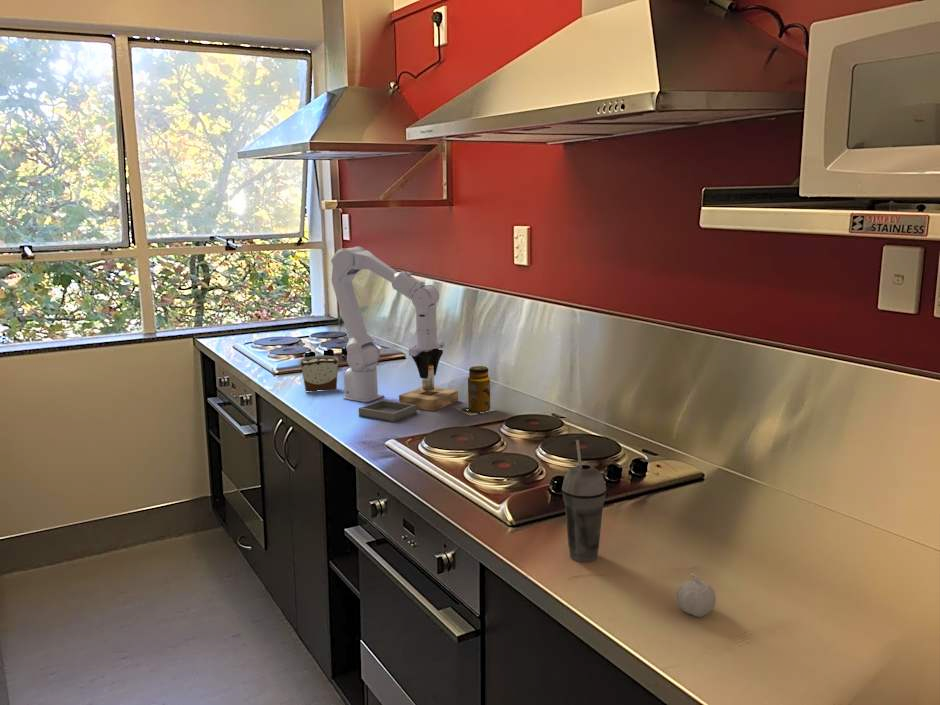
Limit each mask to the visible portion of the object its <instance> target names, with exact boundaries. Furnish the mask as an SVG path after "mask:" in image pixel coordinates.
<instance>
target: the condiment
mask: <svg viewBox="0 0 940 705" xmlns="http://www.w3.org/2000/svg"><path fill="white" fill-rule="evenodd" d="M468 370H469V371H468V375H469V376H468V378H467V393H468V394H467V398H468V400H467V401H468V404H467V405H468V407H464V408H463V407H462V408H457V409H456V410H457V411H459V412H461V413H463V414H466V415H468V416H470V417H471V416H476V415H480V414H481V413H480V412H486V411H489V410H490V408H491V378H490V376H489V368H488V367H487V366H483V365H480V366H479V365H475V366H471V367H470V368H469V369H468ZM466 409H469V410H468V411H467V410H466ZM474 413H476V414H474ZM478 413H480V414H478ZM481 415H482V414H481Z"/></svg>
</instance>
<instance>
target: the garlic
mask: <svg viewBox="0 0 940 705" xmlns="http://www.w3.org/2000/svg"><path fill="white" fill-rule="evenodd" d="M689 576H690V577H691V578H693V579H688V580H685V581H684V582H682V583H681V584H679V586H678V588H677V589H676V592H675V596H676V597H675V598H676V601H677V602H678V607H679V609H681V610H682V611H683V612H684V613H686V614H689V615H691V616H694V617H697V618H701V617H704V616H705V615H707V614H708V613H709V612H710V611H712V610H713V609H714V608H715V606H716V602H717V600H716V598H717V596H716V593H715V590H714V589H713V588H712V585H710V583H708V582H707V581H705V580H703V579H699V576H698V575H697V574H695V573H693V572H692V573H690V575H689Z"/></svg>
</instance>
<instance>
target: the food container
mask: <svg viewBox="0 0 940 705" xmlns="http://www.w3.org/2000/svg"><path fill="white" fill-rule="evenodd" d="M339 365H341V363H340V359H339V358H338V357H337V356H333V355H318V356H317V355H315V356H314V355H313V356H308V357H303V358H302V359H301V360H300V362H299V366H298V368H299V369H300V368H301V372H302V377H303V383H304V384H303V385H304V391H305V392H306V391H317V390H331V391H337V390H338V370H339V368H338V367H339ZM336 389H337V390H336Z"/></svg>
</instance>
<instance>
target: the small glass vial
mask: <svg viewBox="0 0 940 705" xmlns="http://www.w3.org/2000/svg"><path fill="white" fill-rule="evenodd" d="M421 381H422V382H421V384H422V386H421V387H422V390H424V391H432V390H434V388H435V376H434V365H433V364H429V367H428V378H426V379H425V378H421Z"/></svg>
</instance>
